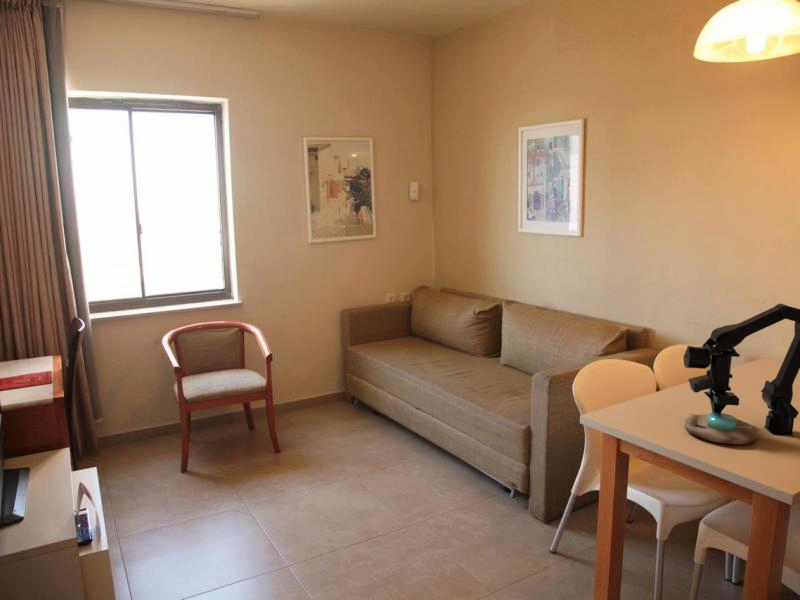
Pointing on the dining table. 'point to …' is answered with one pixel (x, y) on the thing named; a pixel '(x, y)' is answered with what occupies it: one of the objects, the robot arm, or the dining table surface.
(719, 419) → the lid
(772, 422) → the robot arm
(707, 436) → the disc
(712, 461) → the dining table surface
